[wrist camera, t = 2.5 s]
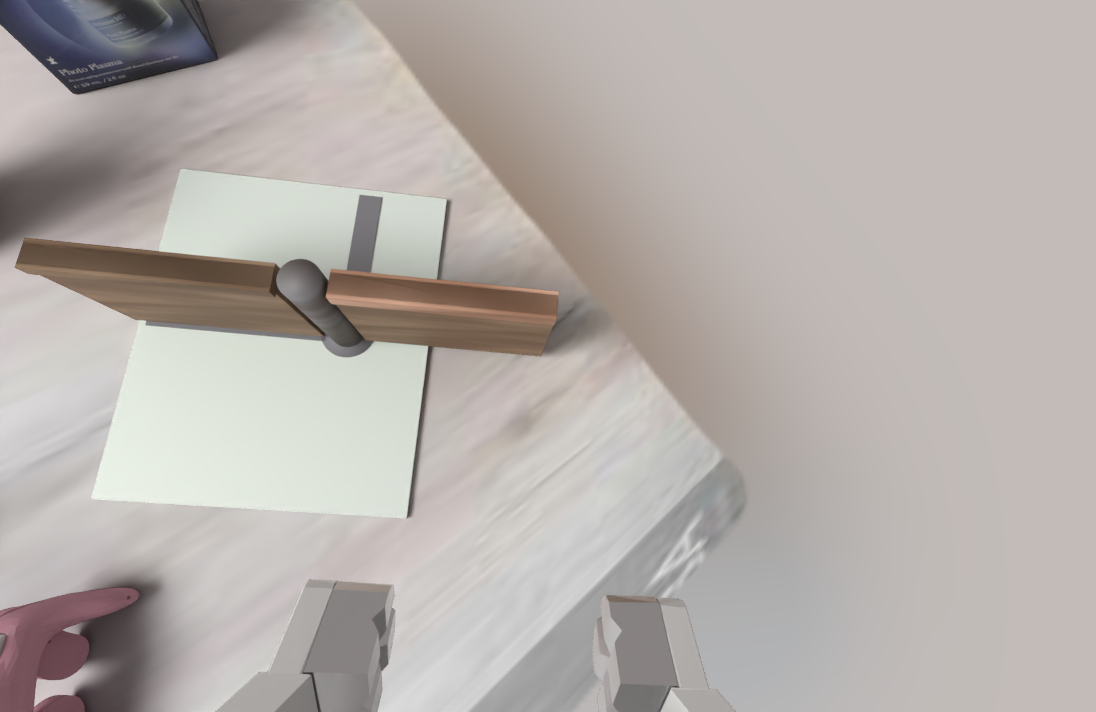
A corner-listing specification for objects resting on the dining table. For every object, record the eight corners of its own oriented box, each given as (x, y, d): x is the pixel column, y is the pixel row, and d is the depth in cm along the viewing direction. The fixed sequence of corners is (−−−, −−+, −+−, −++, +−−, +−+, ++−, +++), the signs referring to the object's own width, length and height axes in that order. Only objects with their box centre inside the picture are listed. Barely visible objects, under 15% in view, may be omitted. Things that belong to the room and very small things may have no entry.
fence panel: (540, 358, 37) (556, 319, 28) (365, 343, 36) (325, 297, 27) (542, 337, 37) (558, 291, 28) (369, 320, 36) (330, 268, 27)
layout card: (407, 518, 34) (406, 518, 34) (94, 498, 32) (89, 499, 32) (446, 201, 40) (446, 198, 39) (182, 171, 38) (179, 167, 38)
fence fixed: (363, 350, 36) (317, 301, 27) (141, 330, 35) (9, 271, 25) (368, 319, 37) (324, 261, 27) (149, 299, 36) (23, 230, 26)
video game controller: (98, 584, 33) (-62, 615, 26) (148, 580, 31) (-7, 612, 25) (85, 765, 30) (-92, 848, 24) (139, 769, 29) (-35, 859, 23)
